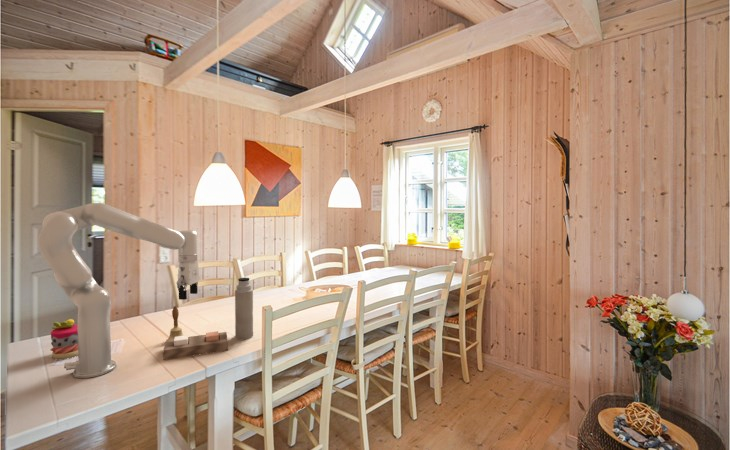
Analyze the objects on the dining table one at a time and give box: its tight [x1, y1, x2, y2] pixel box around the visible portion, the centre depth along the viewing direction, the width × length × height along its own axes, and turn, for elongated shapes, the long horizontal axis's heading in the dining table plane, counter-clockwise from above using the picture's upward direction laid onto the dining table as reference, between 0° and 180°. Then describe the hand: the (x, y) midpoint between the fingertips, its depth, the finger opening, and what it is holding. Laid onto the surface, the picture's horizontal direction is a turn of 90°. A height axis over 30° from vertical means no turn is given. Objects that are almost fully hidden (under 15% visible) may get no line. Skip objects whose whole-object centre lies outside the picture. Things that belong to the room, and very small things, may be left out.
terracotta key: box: [205, 330, 219, 342], centre depth 150 cm, size 5×5×3 cm
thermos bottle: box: [234, 277, 254, 340], centre depth 163 cm, size 8×8×28 cm
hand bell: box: [166, 305, 185, 340], centre depth 157 cm, size 8×8×16 cm
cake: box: [50, 318, 78, 360], centre depth 141 cm, size 10×10×15 cm
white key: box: [174, 334, 189, 346], centre depth 145 cm, size 5×5×3 cm
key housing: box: [162, 331, 229, 361], centre depth 148 cm, size 24×12×4 cm, turn 115°
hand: (188, 296), depth 153 cm, fingers open, 9 cm apart
